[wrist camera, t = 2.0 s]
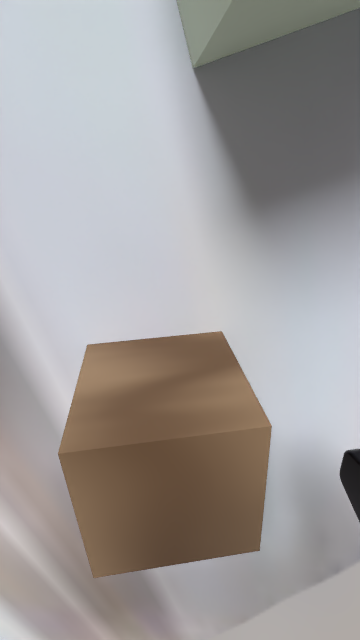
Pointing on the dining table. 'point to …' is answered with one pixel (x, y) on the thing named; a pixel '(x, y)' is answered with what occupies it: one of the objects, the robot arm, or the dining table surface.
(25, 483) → the dining table surface
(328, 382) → the dining table surface
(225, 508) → the walnut block
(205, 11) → the block
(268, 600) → the dining table surface
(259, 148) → the dining table surface
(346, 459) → the robot arm
